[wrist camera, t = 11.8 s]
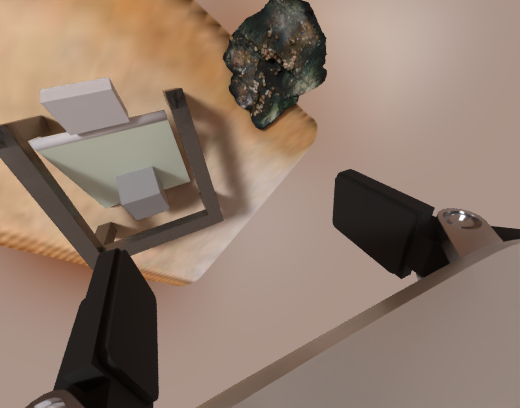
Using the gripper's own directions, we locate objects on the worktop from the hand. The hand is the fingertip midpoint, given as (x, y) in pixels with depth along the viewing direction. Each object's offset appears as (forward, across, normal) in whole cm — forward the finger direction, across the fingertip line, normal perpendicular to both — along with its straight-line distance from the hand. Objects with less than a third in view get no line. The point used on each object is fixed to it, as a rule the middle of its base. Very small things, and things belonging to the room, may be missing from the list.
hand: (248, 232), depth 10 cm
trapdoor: (+27, +9, +2) cm, 29 cm away
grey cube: (+29, +8, +7) cm, 31 cm away
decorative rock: (+33, -17, -5) cm, 37 cm away
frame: (+32, +8, +6) cm, 33 cm away
